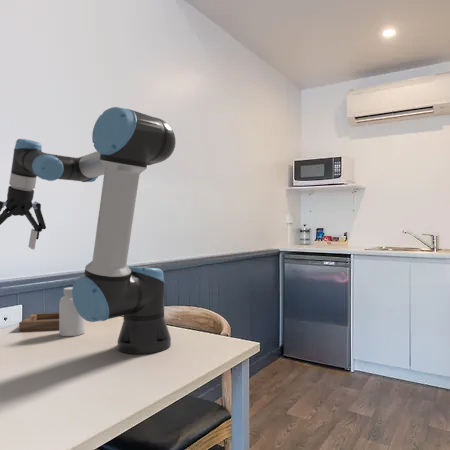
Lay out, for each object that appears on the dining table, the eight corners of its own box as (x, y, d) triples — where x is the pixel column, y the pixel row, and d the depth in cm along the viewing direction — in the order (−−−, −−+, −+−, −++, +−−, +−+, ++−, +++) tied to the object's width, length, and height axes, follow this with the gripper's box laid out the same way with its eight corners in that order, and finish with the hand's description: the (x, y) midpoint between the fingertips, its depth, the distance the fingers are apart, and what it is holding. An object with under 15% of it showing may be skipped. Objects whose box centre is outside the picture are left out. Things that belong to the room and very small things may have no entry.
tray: (66, 329, 138) (65, 320, 138) (19, 331, 136) (19, 322, 136) (75, 319, 153) (75, 311, 153) (33, 321, 151) (33, 313, 151)
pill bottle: (80, 337, 128) (79, 289, 128) (55, 337, 129) (54, 290, 129) (88, 330, 136) (88, 286, 136) (65, 330, 136) (64, 286, 137)
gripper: (51, 187, 143) (41, 243, 147) (-25, 181, 123) (-35, 247, 127) (63, 192, 139) (52, 250, 143) (-14, 187, 119) (-24, 255, 123)
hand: (11, 249), depth 135 cm, fingers open, 13 cm apart
